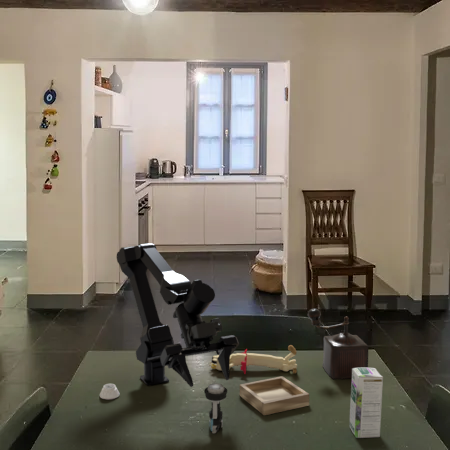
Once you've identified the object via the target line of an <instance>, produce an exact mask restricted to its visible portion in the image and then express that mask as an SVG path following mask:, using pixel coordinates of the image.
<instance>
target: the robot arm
mask: <svg viewBox="0 0 450 450" xmlns="http://www.w3.org/2000/svg"><path fill="white" fill-rule="evenodd" d="M116 261H117V264H118V265H119V267H120V271H121V272H122V273H123V274H124V275H125V276H126V277H127V278H128V279H129V281H130V285H131V288H132V292H133V295H134V299H135V302H136V303H135V304H136V307H137V310H138V313H139V317H140V321H141V324H142V330H141V334H140V338H139V339H140V345H139V347H138V348H137V349H136V351H135V356H136V360H138V361H139V362H141V363H142V364H143V375H140V376H139V378H140V380H141V381H143V383H144V384H145V385H146V386H152V385H157V384H163V383H168V382H170V379H169V378H168V377H167V376H166V374H165V373H166V372H165V370H166V368H165V367H167V368H168V369H172V370H173V371H174V372H176V373H177V374H178V375H179V376H180V377H181V378H182V379H183V380H184V381H185V382H186V383H187V384H188V386H189V387H191V388H193V387H194V381H193V378H192V374H191V372H190V370H189V367H188V364H187V357H188V356H196V355H200V354H207V353H213V352H216V353H215V354H216V356H217V355H219V357H218V358H217V359H218V361H219V364H220V367H221V369H222V370H221V371H222V374H223V377H224V378H225V380H226V381H229V380H230V370H229V362H230V355H231V354H234V352H235V351H236V349H237V348H238V346H239V345H240V342H239V340H238V337H237V336H235V335H234V334H233V335H232V334H231V335H226V336H220V337H219V339H218V341H217V342H213V340H214V336H218V334H217V333H220V332H222V331H223V324H222V321H221V319H220V317H217V318H213V319H210V322H209V321H208V322H206V321H205V320H204V321H203V318H202V316H201V315H202V314H204V313H205V312H206V310H207V309H208V308H209V307H210V305H211V304H212V302H213V301H214V300H215V298H216V293H215V289H214V288H212V287H211V286H210V285H209V284H207V283H205V282H203V281H202V279H195V280H193V281H192V282H191V281H190V279H188V278H187V277H185V276H184V275H183V274H181V273H177V272H175V271H174V270H173V269H172V267H171V266H170V265H169V263H168V262H167V260H165V258H164V257H163V256H162V255H161V254H160V252H159V251H158V249H157V245H156V244H154V243H152V242H151V243H149V242H148V243H140V244H137V245H134V246H124V247H123V246H122V247H120V249H119V250H118V252H116ZM148 271H149V272H150V273H151V275H152V276H153V277H154V279H155V280H156V281H157V282H158V284H159V286H160V287H159V293H160V296H161V297H162V299H163V301H164V302H165V304H167V305H169V306H171V305H176V304H178V305H177V306H176V307H175V309H174V312H173V313H172V318H173V319H177V321H178V324H179V327H180V331H181V333H180V338H181V339H183V340H184V344H185V347H183V346H182V344H181V343H174V339H173V338H174V337H173V335H172V332H171V329H170V326H169V325H168V324H163V322H161V319H160V316H159V313H158V310H157V306H156V303H155V299H154V297H153V296H154V295H153V291H152V289H151V286H150V285H151V284H150V282H149V278H148V274H147V272H148ZM210 342H213V343H210Z"/></svg>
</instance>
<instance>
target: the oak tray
mask: <svg viewBox="0 0 450 450" xmlns="http://www.w3.org/2000/svg"><path fill="white" fill-rule="evenodd" d="M239 397H241V398H242V399H243V400H244V401H246V402H247V403H248V404H250V405H251V406H252V407H253V408H254V409H256V411H258V412H259V413H260V414H262V415H263V416H267V415H268V416H269V415H271V414H276V413H280V412H282V413H283V412H285V411H290V410H294V409H299V408H303V407H307V406H310V393H309V392H307V391H305V390H304V389H302V388H301V387H299V386H298V385H296V384H295V383H293V382H292V381H290V380H289V379H287V378H285V377H284V376H277V377H276V376H275V377H272V378H266V379H261V380H257V381H251V382H246V383H241V384H239Z"/></svg>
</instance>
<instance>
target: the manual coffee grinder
mask: <svg viewBox="0 0 450 450" xmlns="http://www.w3.org/2000/svg"><path fill="white" fill-rule="evenodd" d="M321 315H322V314H321V311H320V309H318V308H311V309H309V310H307V317H308V318H309V320H310V321H311V325H312V326H315V327H316V328H317V329H320V330H332V329H338V328H341V327H343V326H344V330H343V329H342V330H340V332H339V333H338V334H333V335H323V360H322V367H323V369H324V371H325V372H326V374H327V375H328V376H329V377H330V378H332V380H352V368H360V367H368V368H369V345H368V344H367V343H366V342H365V341H364V340H363V339H361V337H359V336H358V335H357V334H351V333H350V332H348V328H349V326H348V325H349V324H350V321H349V317H348V316H344V318H343V319H344V321H343V322H342V323H339V324H334V325H328V326H323V325H321V324H322V322H321V320H320V317H321Z"/></svg>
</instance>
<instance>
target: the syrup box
mask: <svg viewBox="0 0 450 450" xmlns="http://www.w3.org/2000/svg"><path fill="white" fill-rule="evenodd" d="M383 381H384V376H383V375H381V373H380V372H379V371H378V370H377V368H375V367H369V366H368V367H360V368H352V379H351V386H350V387H351V388H350V401H349V402H350V405H349V429H350V430H351V432H352V434H353V435H354V437H355V439H364V438H367V439H368V438H380V436H381V424H382V423H381V422H382V402H383V383H384V382H383Z"/></svg>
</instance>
